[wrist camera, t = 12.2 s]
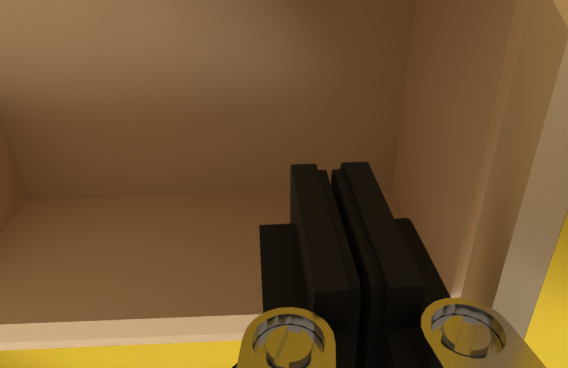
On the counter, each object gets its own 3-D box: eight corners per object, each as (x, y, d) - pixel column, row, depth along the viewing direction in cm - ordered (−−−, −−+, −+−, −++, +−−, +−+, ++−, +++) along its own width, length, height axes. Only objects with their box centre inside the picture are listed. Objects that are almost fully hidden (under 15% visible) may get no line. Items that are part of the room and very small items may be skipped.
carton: (448, -108, 17) (578, -111, 10) (403, 208, 24) (464, 335, 17) (-86, -109, 17) (-329, -113, 10) (19, 219, 23) (-81, 358, 16)
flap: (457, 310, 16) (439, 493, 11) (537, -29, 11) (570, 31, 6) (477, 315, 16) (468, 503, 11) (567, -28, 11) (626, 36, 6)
